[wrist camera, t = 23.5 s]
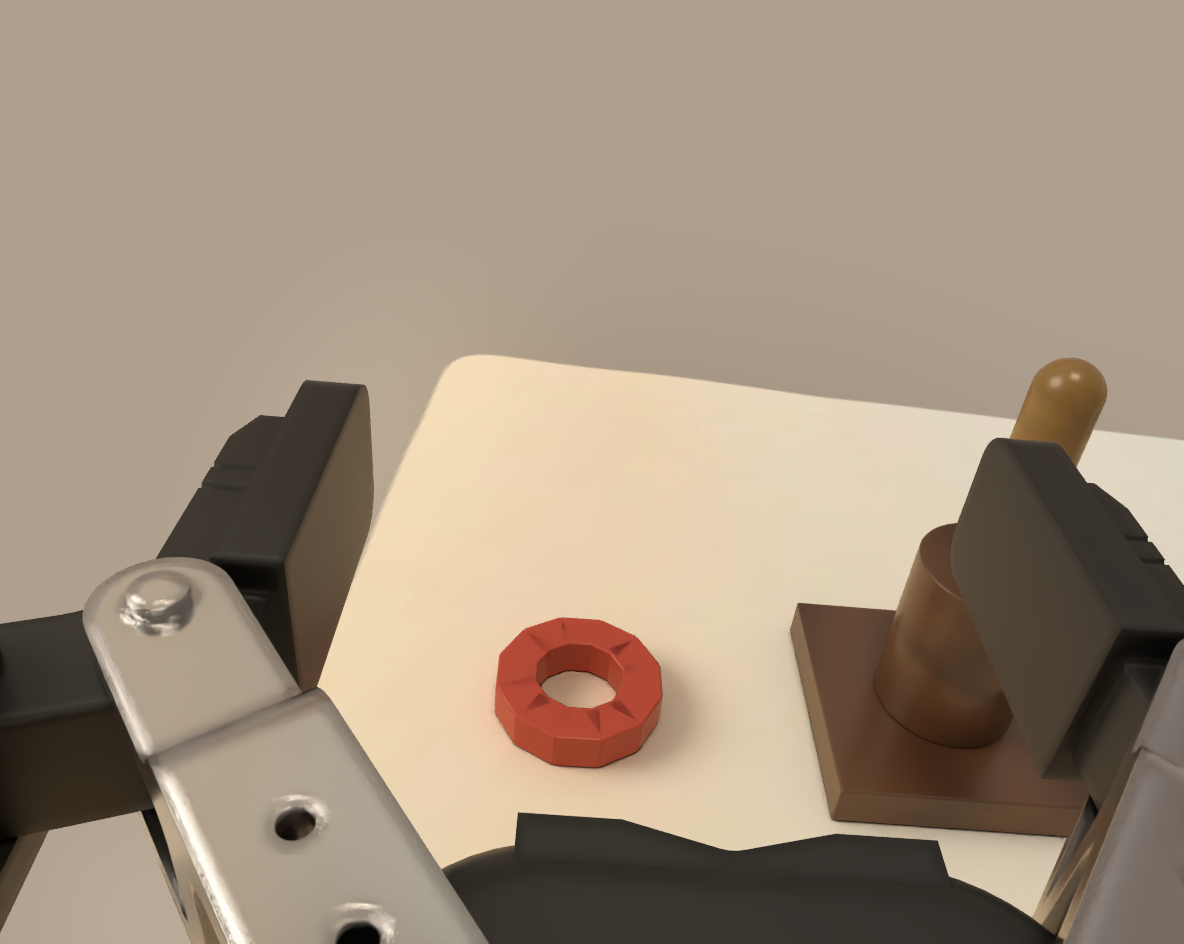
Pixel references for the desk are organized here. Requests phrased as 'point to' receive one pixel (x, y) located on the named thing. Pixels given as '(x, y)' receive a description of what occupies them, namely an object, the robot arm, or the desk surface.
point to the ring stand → (936, 679)
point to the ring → (572, 729)
